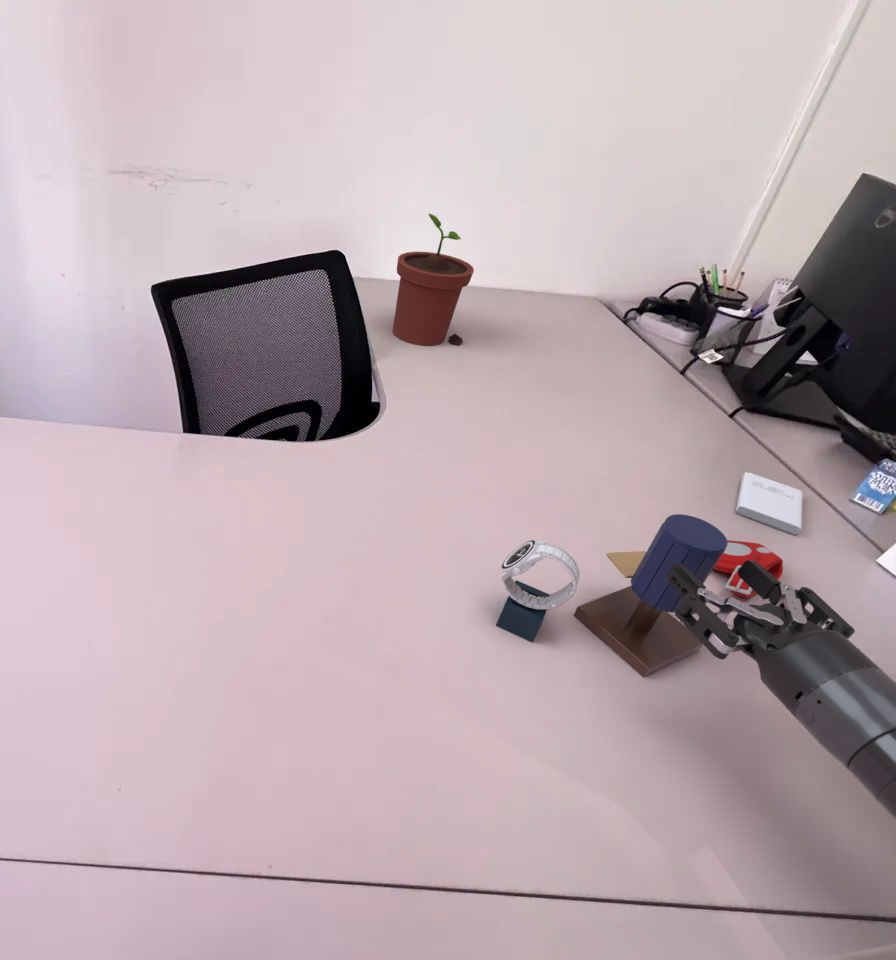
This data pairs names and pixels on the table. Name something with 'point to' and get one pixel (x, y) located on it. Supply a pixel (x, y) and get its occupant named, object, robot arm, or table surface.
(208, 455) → the table surface
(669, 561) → the cap
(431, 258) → the potted plant
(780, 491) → the hard drive
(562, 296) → the table surface
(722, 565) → the tracker holder
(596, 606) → the stand
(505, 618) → the watch
